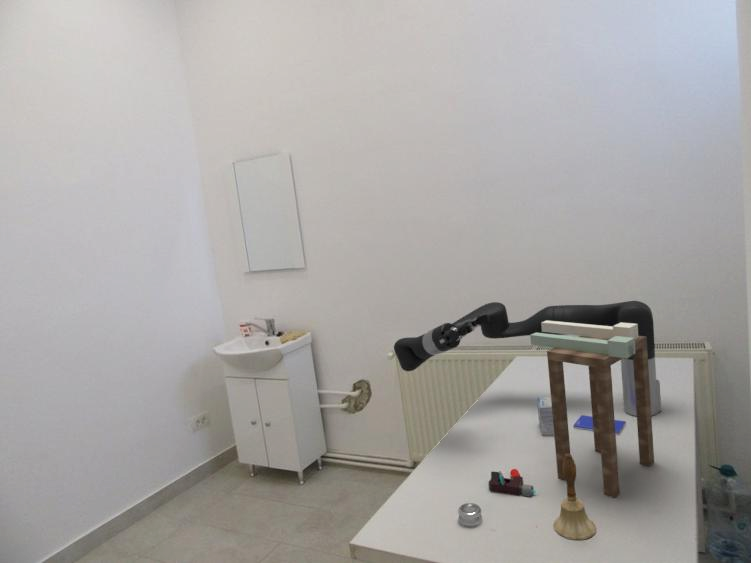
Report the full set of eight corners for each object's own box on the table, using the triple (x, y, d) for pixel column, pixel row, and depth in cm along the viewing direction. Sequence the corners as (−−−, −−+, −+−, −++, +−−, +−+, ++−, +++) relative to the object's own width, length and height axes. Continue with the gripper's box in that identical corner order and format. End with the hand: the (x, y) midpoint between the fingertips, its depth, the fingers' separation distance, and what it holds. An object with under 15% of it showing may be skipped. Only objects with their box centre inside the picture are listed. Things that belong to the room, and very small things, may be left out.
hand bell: (545, 521, 112) (539, 451, 110) (580, 512, 114) (574, 442, 112) (568, 544, 104) (562, 469, 102) (605, 533, 106) (599, 459, 104)
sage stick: (529, 345, 130) (528, 331, 130) (538, 341, 133) (537, 327, 133) (626, 358, 112) (625, 342, 112) (635, 353, 115) (634, 337, 114)
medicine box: (558, 435, 150) (555, 406, 149) (541, 436, 151) (539, 407, 150) (554, 423, 158) (552, 396, 157) (539, 424, 159) (536, 397, 158)
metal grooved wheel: (484, 525, 114) (479, 512, 119) (483, 513, 113) (477, 500, 118) (461, 529, 114) (457, 515, 119) (460, 516, 113) (455, 503, 118)
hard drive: (573, 425, 153) (618, 432, 146) (581, 414, 160) (625, 420, 152) (573, 430, 154) (619, 437, 146) (582, 419, 160) (626, 425, 152)
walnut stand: (558, 478, 128) (546, 351, 124) (599, 447, 141) (590, 330, 136) (614, 498, 117) (604, 359, 113) (654, 462, 130) (646, 336, 125)
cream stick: (540, 332, 141) (539, 319, 141) (548, 328, 144) (547, 316, 143) (630, 342, 123) (629, 327, 122) (638, 338, 125) (637, 323, 125)
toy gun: (536, 500, 121) (534, 481, 120) (484, 493, 127) (482, 474, 126) (543, 479, 129) (541, 460, 129) (495, 473, 135) (493, 455, 134)
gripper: (461, 342, 160) (500, 325, 148) (431, 360, 151) (470, 344, 138) (449, 319, 161) (487, 301, 148) (419, 336, 151) (457, 319, 139)
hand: (479, 322), depth 143 cm, fingers open, 8 cm apart
